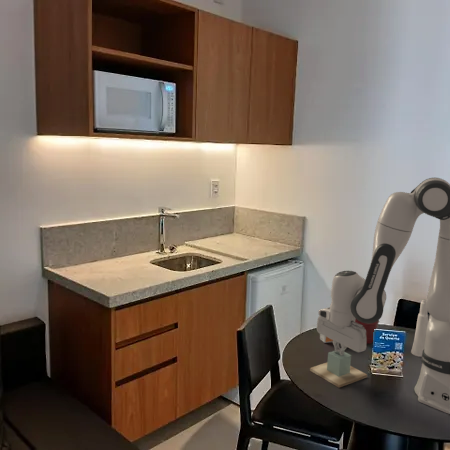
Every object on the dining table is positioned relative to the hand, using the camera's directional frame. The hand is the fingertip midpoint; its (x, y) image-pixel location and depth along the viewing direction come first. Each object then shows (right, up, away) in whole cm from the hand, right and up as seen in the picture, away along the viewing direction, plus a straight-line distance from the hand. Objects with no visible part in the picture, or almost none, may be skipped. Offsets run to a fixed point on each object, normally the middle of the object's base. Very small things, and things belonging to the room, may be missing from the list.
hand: (339, 353), depth 170 cm
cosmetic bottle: (+36, -5, +19) cm, 41 cm away
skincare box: (+3, -3, +29) cm, 29 cm away
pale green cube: (0, -7, +1) cm, 7 cm away
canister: (+17, -2, +33) cm, 37 cm away
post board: (0, -7, +1) cm, 8 cm away
